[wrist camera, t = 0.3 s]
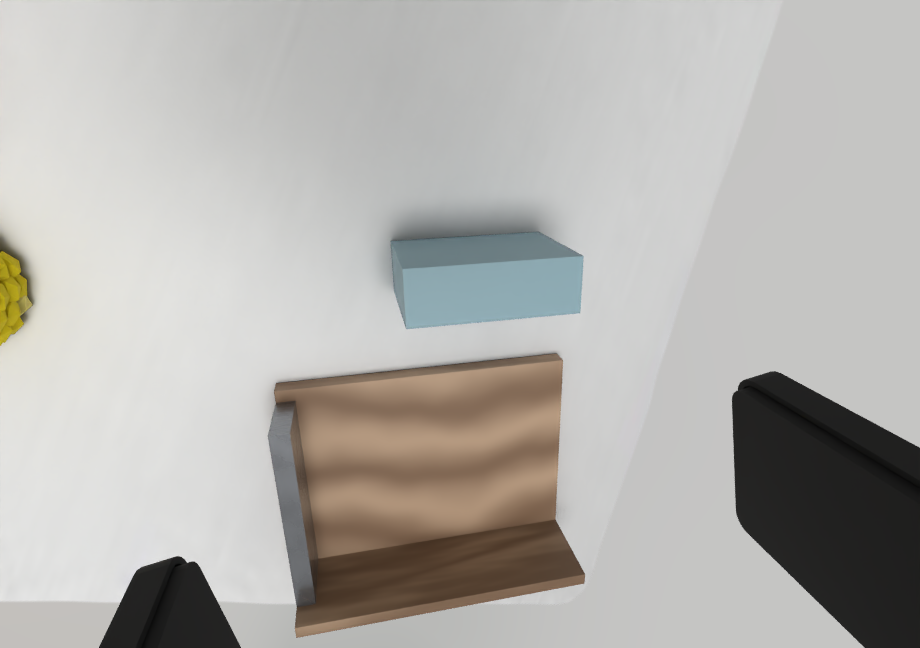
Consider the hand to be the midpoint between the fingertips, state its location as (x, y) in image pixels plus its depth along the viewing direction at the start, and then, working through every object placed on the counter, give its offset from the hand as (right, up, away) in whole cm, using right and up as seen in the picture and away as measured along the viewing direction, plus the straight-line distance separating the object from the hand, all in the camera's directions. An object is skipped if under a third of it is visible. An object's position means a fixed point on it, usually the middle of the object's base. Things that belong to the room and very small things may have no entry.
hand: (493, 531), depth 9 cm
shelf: (-4, -9, +40) cm, 41 cm away
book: (0, +9, +35) cm, 36 cm away
